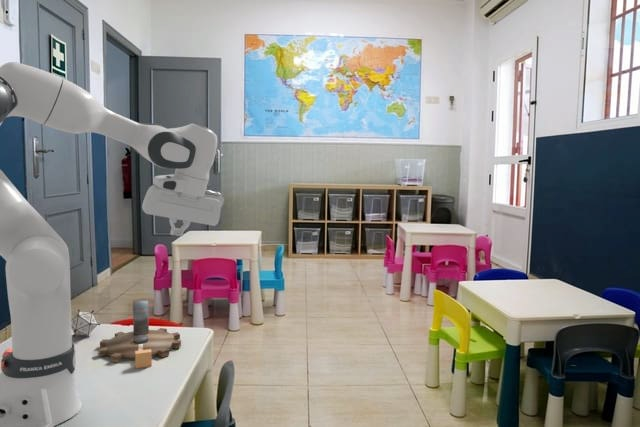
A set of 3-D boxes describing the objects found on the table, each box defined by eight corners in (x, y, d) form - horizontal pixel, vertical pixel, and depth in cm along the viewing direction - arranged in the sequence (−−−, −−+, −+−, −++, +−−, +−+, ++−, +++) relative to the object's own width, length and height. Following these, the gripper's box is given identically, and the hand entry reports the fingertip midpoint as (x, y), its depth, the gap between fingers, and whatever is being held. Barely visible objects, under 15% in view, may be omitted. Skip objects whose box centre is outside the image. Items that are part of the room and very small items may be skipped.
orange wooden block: (135, 368, 124) (135, 353, 124) (135, 365, 126) (135, 351, 126) (151, 366, 126) (151, 351, 125) (151, 363, 128) (150, 349, 127)
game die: (90, 345, 148) (111, 318, 150) (75, 345, 140) (96, 317, 142) (71, 328, 150) (91, 302, 152) (54, 328, 142) (76, 300, 144)
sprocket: (183, 357, 131) (183, 317, 130) (94, 367, 124) (93, 324, 122) (178, 329, 153) (177, 295, 152) (102, 336, 145) (101, 300, 144)
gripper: (222, 191, 132) (209, 237, 133) (148, 175, 120) (135, 225, 122) (229, 196, 126) (216, 244, 128) (153, 179, 115) (139, 232, 117)
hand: (176, 235), depth 125 cm, fingers closed
